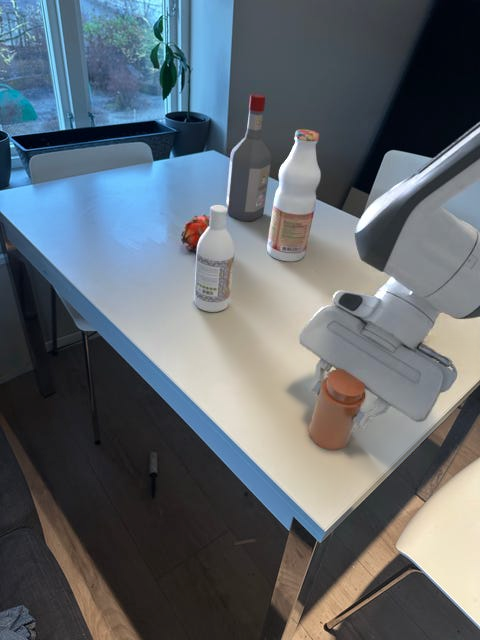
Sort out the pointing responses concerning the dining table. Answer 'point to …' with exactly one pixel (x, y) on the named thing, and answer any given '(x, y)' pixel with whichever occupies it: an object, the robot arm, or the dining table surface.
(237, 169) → the liquor
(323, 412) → the jar
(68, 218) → the dining table surface
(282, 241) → the fruit juice
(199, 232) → the dragon fruit
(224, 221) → the bath foam
